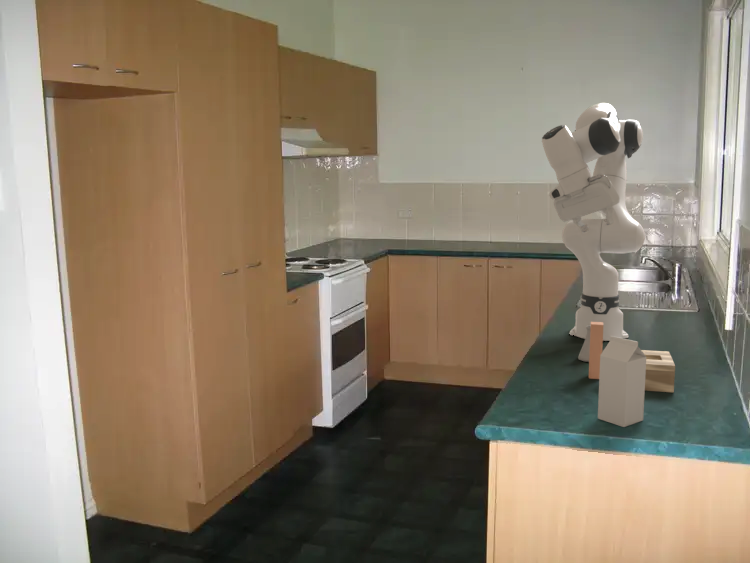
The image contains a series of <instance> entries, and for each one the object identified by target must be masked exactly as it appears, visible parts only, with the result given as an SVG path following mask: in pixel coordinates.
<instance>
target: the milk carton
mask: <svg viewBox="0 0 750 563" xmlns="http://www.w3.org/2000/svg"><path fill="white" fill-rule="evenodd" d="M641 350H642V349H641V348H640V347H639V341H636V340H632V339H628V338H619V337H614V336H610V341H609V342H608V343H607V345H606V346H605V347H604V349H603V350H602V354H601V355H600V375H599V379H598V399H597V401H598V404H597V407H598V408H597V419H598V420H601V421H604V422H608V423H611V424H613V425H616V426H619V427H622V428H625V427H629V426H631V425H635V424H637V423H639V422H642V421H644V414H645V413H644V410H645V394H646V393H645V391H646V390H645V375H646V356H645V355H644V353H643V352H642V351H641Z"/></svg>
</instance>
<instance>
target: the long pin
mask: <svg viewBox="0 0 750 563" xmlns="http://www.w3.org/2000/svg"><path fill="white" fill-rule="evenodd" d="M603 342H604V341H603V322H591V328H590V353H589V362H588V379H591V380H599V375H600V355H601V354H602V352H603V347H604V346H603V344H604V343H603Z"/></svg>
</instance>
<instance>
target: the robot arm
mask: <svg viewBox="0 0 750 563" xmlns="http://www.w3.org/2000/svg"><path fill="white" fill-rule="evenodd" d="M643 140H644V130H643V128H642V127H641V123H640V122H639V121H638V120H635V119H628V118H627V119H626V120H625V119H623V120H622V119H620V118H619V117H618V114H617V111H616V109H615V108H614V106H613V105H612V104H610V103H607V102H599V103H595V104H592V105H590V106H589V107H588V108H586V109H585V110H584V111H583V112H582V113H581V114H580V115H579V117H578V118H577V121H576V122H575V130H574V131H573V132H571V130H570V129H569V127H568V126H567V125H566V124H560V125H558V126H555V127H553V128H551V129H550V130H549V131H547V132H545V134H544V135H542V137H541V142H542V147H543V150H544V153H545V155H546V157H547V160H548V162H549V165H550V167H551V168H552V169H553V170H554V172H555V174H556V179H557V182H558V184H557V185H556V186H555V187H554V188H553V189H552V191H551V192H549V197H550V199H551V200H553V206H554V208H555V211H556V213H557V215H558V217H559V219H560V221H562V222H564V223H565V222H567V223H566V224H565V225H564V226H563V229H562V233H561V238H562V243H563V245H564V246H565V248H566V249H568V250H569V251H571V253H572V254H574V256H575V257H576V259H577V260H578V262H579V265H580V266H581V270H582V285H583V287H582V293H581V297H580V303H581V306H580V307H579V308H578V309H577V310H576V312H575V316H574V319H575V322H574V327H573V328H571V330H570V331H569V334H570V336H573V335H574V337H578V338H581V339H584V340H585V339H586V334H587V329H586V326H591V322H603V342H604V341H605V342H607V341H609V342H610V336H614V337H619V338H623V339H628V338H629V334H628V333H627V332H626V331H625V330H624V312H622V310H621V309H620V308H619V306H620V295H619V277H620V276H619V275H620V274H619V272H618V270H617V269H616V267H614V266H613V265H611V264H610V263H608V262H606V261H604V260H603V258H602V257H601V254H628V253H634V252H638V251H639V250H640V249H641V248H642V247H643V245H644V243H645V239H646V233H645V230H644V228H643V226H642V225H641V223H640V222H638V221H637V220H636V219H634V218H633V217H632V216H631V214H630V213H629V210H628V209H627V204H626V190H627V189H626V188H627V181H628V180H627V177H628V171H627V170H628V168H627V160H626V156H627V159H631V158H632V157H633V154H635V153H636V152H637V151H638V150H639V149H640V148H641V146H642V142H643ZM596 159H597V160H596ZM594 160H596V163H595V166H594V168H593V173H592V172H591V170H590V168H589V166H588V163H590V162H592V161H594ZM597 212H598V213H601V214H602V215H604V216H605V218H582V217H584V216H587V215H590V214H593V213H597Z"/></svg>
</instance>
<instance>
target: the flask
mask: <svg viewBox="0 0 750 563" xmlns="http://www.w3.org/2000/svg"><path fill="white" fill-rule="evenodd" d="M590 328H591V326H586V329H587V334H586V339H584V342H583V344H582V347H581V349H580V352H579V354H578V357H577V359H578V360H579V361H583V362H587V363H589V353H590Z"/></svg>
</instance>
